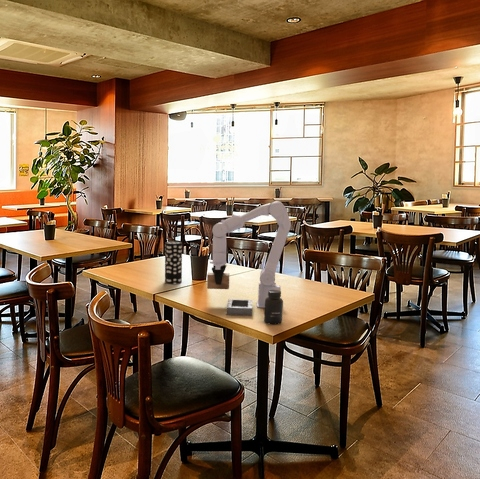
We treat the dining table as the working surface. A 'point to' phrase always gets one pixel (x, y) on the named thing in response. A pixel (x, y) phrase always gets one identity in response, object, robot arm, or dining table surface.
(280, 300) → the supplement bottle
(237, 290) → the dining table surface
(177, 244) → the spotted tube
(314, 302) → the dining table surface
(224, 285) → the walnut block
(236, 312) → the cradle
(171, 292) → the dining table surface
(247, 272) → the dining table surface
